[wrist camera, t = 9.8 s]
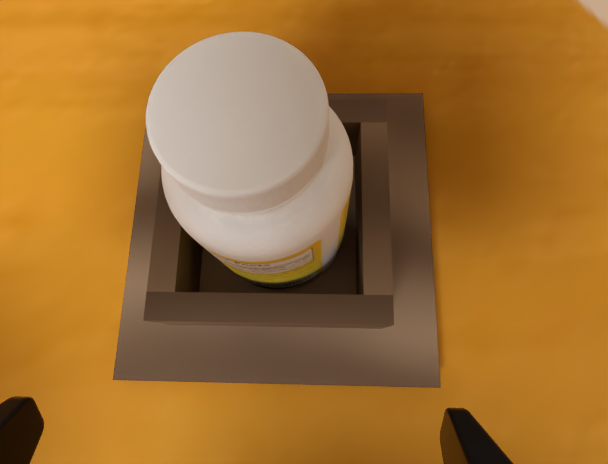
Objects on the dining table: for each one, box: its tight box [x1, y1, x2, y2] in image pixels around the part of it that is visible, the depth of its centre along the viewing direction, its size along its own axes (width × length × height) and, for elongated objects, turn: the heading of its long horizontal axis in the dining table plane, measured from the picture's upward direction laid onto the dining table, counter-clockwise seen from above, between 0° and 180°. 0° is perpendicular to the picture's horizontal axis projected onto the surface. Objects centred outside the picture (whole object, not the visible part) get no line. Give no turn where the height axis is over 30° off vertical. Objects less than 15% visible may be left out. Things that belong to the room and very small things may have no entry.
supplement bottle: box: [146, 32, 353, 290], centre depth 14 cm, size 5×5×10 cm
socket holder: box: [113, 93, 440, 388], centre depth 18 cm, size 13×13×4 cm
